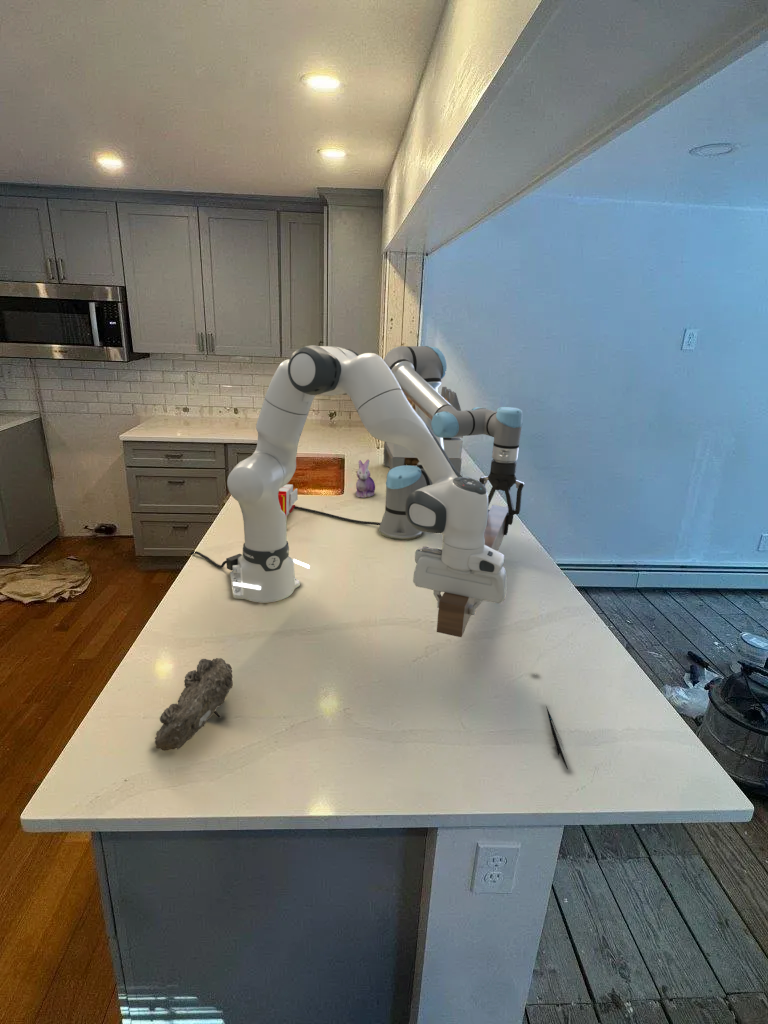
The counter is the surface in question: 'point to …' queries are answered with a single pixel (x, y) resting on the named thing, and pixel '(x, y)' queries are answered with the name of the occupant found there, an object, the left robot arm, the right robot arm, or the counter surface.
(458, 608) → the bar
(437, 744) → the counter surface
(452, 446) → the white storage bin
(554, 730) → the feather
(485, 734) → the counter surface
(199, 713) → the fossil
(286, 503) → the toy
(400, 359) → the right robot arm
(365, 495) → the figurine
